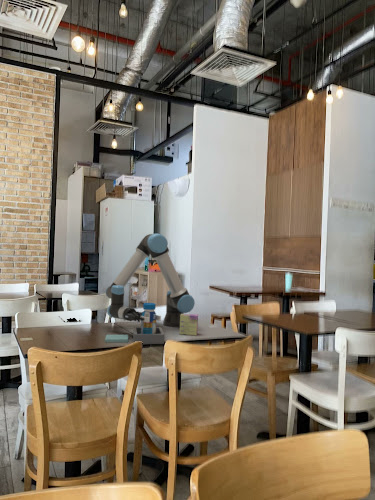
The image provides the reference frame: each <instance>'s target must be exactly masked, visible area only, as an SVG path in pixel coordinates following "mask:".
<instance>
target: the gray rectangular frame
mask: <svg viewBox="0 0 375 500" xmlns="http://www.w3.org/2000/svg"><path fill="white" fill-rule="evenodd" d="M132 328H133V332H132V333H133V334H132V337H133V339H132V340H133V343H134V342H135V341H142V342H143V344H142V345H164V344H165V333H164V329H163V328H162V327H160V326H159V327H158V326H156V334H141V326H135V327H134V326H133V327H132Z"/></svg>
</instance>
